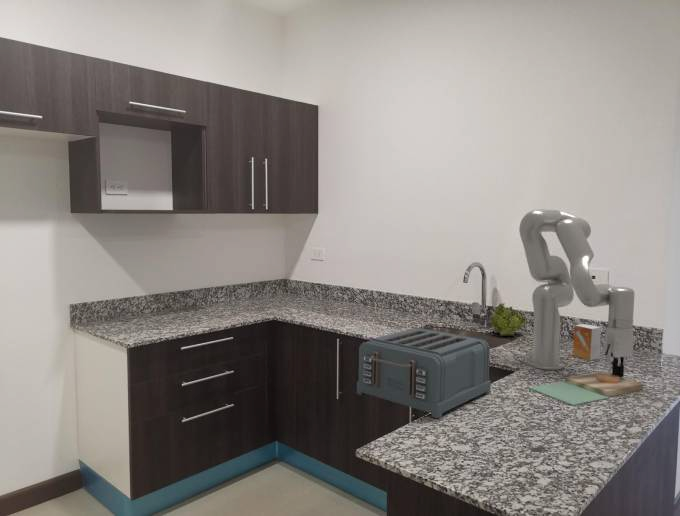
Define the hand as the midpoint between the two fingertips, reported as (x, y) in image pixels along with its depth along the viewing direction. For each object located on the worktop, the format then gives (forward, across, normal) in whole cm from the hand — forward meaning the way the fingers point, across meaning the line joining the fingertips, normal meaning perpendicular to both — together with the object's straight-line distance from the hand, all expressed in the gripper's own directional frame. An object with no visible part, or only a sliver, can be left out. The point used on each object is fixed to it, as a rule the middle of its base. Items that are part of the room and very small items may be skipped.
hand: (617, 376), depth 187 cm
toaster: (+3, +68, -20) cm, 71 cm away
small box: (+3, -20, -29) cm, 36 cm away
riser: (+3, +7, 0) cm, 7 cm away
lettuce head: (+3, -19, -71) cm, 74 cm away
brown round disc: (+1, +5, 0) cm, 5 cm away
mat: (+3, +24, 0) cm, 24 cm away
